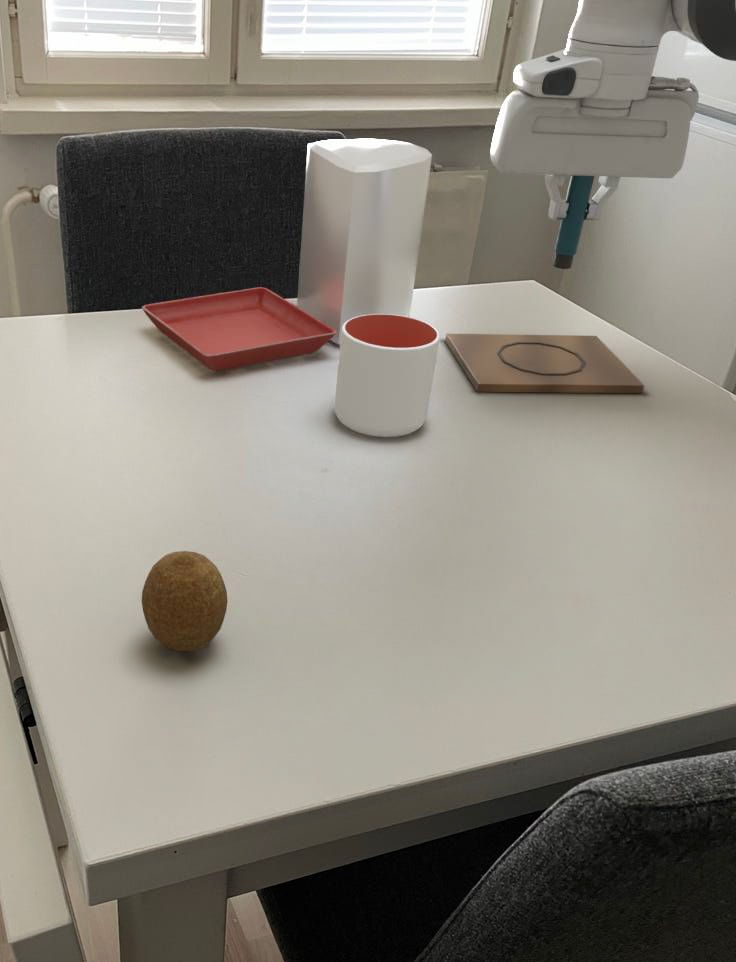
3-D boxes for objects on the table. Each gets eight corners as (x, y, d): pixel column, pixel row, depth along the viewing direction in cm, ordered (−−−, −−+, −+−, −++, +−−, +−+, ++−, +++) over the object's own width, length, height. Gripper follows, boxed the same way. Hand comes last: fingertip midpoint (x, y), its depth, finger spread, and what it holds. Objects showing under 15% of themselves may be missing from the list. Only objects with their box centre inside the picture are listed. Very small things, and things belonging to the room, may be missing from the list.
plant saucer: (206, 382, 113) (206, 354, 111) (139, 330, 125) (139, 303, 123) (337, 358, 121) (339, 331, 119) (262, 311, 133) (263, 286, 131)
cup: (444, 429, 106) (460, 338, 100) (372, 450, 101) (385, 355, 95) (384, 395, 113) (396, 307, 107) (314, 413, 108) (322, 322, 102)
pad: (594, 343, 129) (596, 334, 128) (642, 393, 116) (645, 384, 116) (444, 340, 127) (446, 332, 127) (476, 392, 115) (478, 383, 114)
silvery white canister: (290, 307, 135) (302, 128, 121) (386, 300, 139) (407, 126, 125) (331, 348, 123) (349, 156, 110) (434, 339, 127) (463, 153, 114)
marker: (568, 263, 112) (598, 137, 104) (575, 270, 110) (606, 142, 102) (548, 262, 112) (576, 136, 104) (555, 269, 110) (584, 141, 102)
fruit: (144, 620, 76) (141, 531, 72) (224, 620, 77) (227, 532, 72) (141, 671, 72) (138, 579, 67) (227, 671, 72) (230, 580, 67)
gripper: (690, 73, 103) (652, 213, 112) (500, 65, 101) (475, 208, 110) (717, 83, 98) (675, 229, 107) (518, 75, 96) (491, 224, 105)
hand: (572, 218), depth 108 cm, fingers closed on marker, 2 cm apart
